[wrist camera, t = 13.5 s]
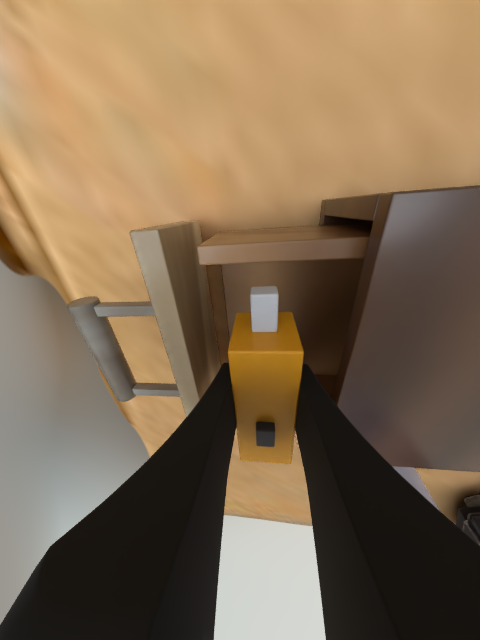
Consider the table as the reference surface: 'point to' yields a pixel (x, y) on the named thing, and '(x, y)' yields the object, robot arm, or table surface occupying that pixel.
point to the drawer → (230, 298)
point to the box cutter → (265, 378)
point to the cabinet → (415, 327)
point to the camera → (470, 518)
